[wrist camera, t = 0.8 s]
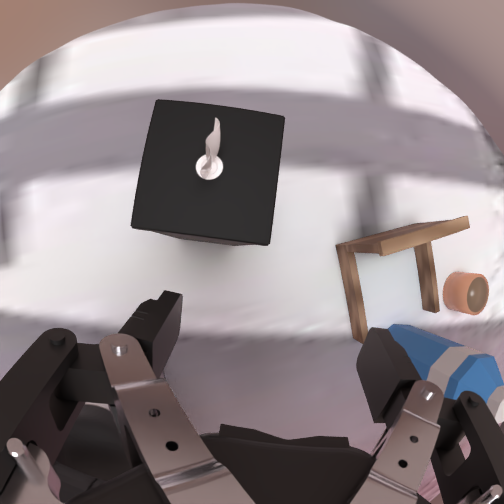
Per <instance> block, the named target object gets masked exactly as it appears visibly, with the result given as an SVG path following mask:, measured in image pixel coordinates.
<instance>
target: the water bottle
mask: <svg viewBox="0 0 504 504" xmlns="http://www.w3.org/2000/svg"><path fill="white" fill-rule="evenodd" d="M388 330H389V331H390V333H391V335H392V337H393V338H394V340H395V341H397V342H398V343H399V344H400V345H401V346H402V347H403V348H404V349H405V351H406V352H407V354H408V357H410V359H411V361H412V363H413V364H414V366H415V368H416V370H417V371H418V373H419V375H420V377H421V379H422V380H426V381H430V382H432V383H434V384H436V385H437V386H438V387H439V388H440V389H441V390H442V392H443V394H444V397H445V398H450V399H454V400H457V398H458V397H459V395H460V394H461V392H463V391H472V392H475V393H477V394H478V395H480V396H481V397H482V398H483V400H484V401H485V403H486V404H487V406H488V408H489V410H490V411H491V413H492V415H493V416H494V418H495V420H496V422H497V423H500V422H503V421H504V383H503V380H502V377H501V374H500V372H499V369H498V366H497V363H496V361H495V358H494V357H493V356H491V355H488V354H485V353H482V352H480V351H477V350H474V349H472V348H469V347H466V346H464V345H461V344H458V343H456V342H453V341H450V340H448V339H445V338H442V337H440V336H437V335H434V334H432V333H429V332H427V331H424V330H421V329H419V328H416V327H413V326H411V325H399V324H393V325H392V326H391V327H390V328H389V329H388Z"/></svg>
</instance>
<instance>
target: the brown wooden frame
mask: <svg viewBox="0 0 504 504" xmlns="http://www.w3.org/2000/svg"><path fill="white" fill-rule="evenodd" d="M468 228H470V225H469V220H468V216H463V217H460V218H456V219H453V220H445V221H435V222H426V223H416V224H411V225H408V226H404V227H401V228H397V229H393V230H389V231H386V232H382V233H378V234H375V235H371V236H367V237H364V238H360V239H356V240H352V241H349V242H345V243H341V244H337V245H336V249H337V254H338V259H339V263H340V268H341V273H342V278H343V283H344V288H345V294H346V299H347V304H348V310H349V316H350V321H351V327H352V334H353V338H354V339H356V340H357V341H359V342H361V343H362V344H363V343H364V341H365V339H366V336H367V334H368V329H367V322H366V315H365V309H364V303H363V297H362V292H361V286H360V281H359V275H358V270H357V265H356V260H355V255H354V252H357V253H379V255H380V256H386V255H389V254H392V253H395V252H399V251H402V250H405V249H408V248H411V247H414V249H415V255H416V261H417V267H418V274H419V281H420V289H421V297H422V306H423V310H426V311H430V312H433V313H437V312H439V311H440V309H439V298H438V289H437V280H436V272H435V265H434V258H433V252H432V246H431V241H433V240H436V239H439V238H442V237H445V236H448V235H451V234H454V233H457V232H459V231H462V230H465V229H468Z"/></svg>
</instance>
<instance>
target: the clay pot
mask: <svg viewBox="0 0 504 504" xmlns="http://www.w3.org/2000/svg"><path fill="white" fill-rule="evenodd" d="M488 295H489V286H488V282H487V279H486V278H485V277H484V276H483V275H482V274H474V273H464V272H454V273H452V274H450V275H449V277H448V278H447V280H446V281H445V284H444V288H443V301H444V303H445V305H446V307H447V308H448V309H451V310H455V311H458V312H462V313H466V314H470V315H477V314H479V313H480V312H481V311H482V310H483V309H484V307H485V305H486V303H487V300H488Z"/></svg>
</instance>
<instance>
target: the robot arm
mask: <svg viewBox="0 0 504 504" xmlns="http://www.w3.org/2000/svg"><path fill="white" fill-rule="evenodd" d="M182 301H183V296H182V294H179V293H175V292H170V291H166V290H165V291H164V292H163V293H162V294H161V296H160V297H159V299H158V300H153V299H149V300H147V301H145V302H143V303H141V304H140V305H139V307H138V308H137V309H136V312H134V313H133V314H132V316H131V317H130V318H129V319H128V321H127V322H126V323H125V325H124V326H123V327H122V329H121V330H120V331H119V332H118V334H111V335H108V336H106V337H104V338H103V339H102V340H101V341H100V343H99V344H83V343H77V339H76V336H75V334H74V333H73V332H71V331H70V330H67V329H63V328H54V329H50V330H47V331H45V332H44V333H43V334H41V336H40V337H39V338H38V339H37V340H36V341H35V342H34V343H33V344H32V345H31V346H30V347H29V349H28V350H27V351H26V352H25V353H24V354H23V355H22V356H21V358H20V359H19V360H18V361H17V362H16V363H15V364H14V365H13V367H12V368H11V369H10V370H9V371H8V372H7V374H6V375H5V376H4V377H3V378H2V380H1V381H0V504H431V503H430V502H428V501H427V500H426V499H424V498H423V497H422V496H421V495H419V494H418V493H417V491H418V488H419V486H420V484H421V481H422V479H423V476H424V474H425V471H426V469H427V466H428V463H429V461H430V459H431V462H432V465H433V469H434V472H435V475H436V478H437V482H438V485H439V488H440V492H441V495H442V499H443V503H444V504H504V434H503V433H502V431H501V429H500V427H499V425H498V423H497V422H496V420H495V418H494V416H493V415H492V413H491V411H490V410H489V408H488V406H487V404H486V403H485V401H484V400H483V398H482V397H481V396H480V395H478V394H477V393H475V392H472V391H463V392H461V394H460V395H459V397H458V398H457V400H454V399H450V398H445V397H444V394H443V392H442V390H441V389H440V388H439V387H438V386H437V385H436V384H434V383H432V382H430V381H426V380H422V379H421V377H420V375H419V373H418V371H417V370H416V368H415V366H414V364H413V363H412V361H411V359H410V357H408V354H407V352H406V351H405V349H404V348H403V347H402V346H401V345H400V344H399V343H398V342H397V341H395V340H394V338H393V337H392V335H391V333H390V331H389V330H388V329H382V328H374V327H372V328H371V329H370V330H369V332H368V334H367V336H366V339H365V341H364V343H363V346H362V348H361V351H360V353H359V355H358V358H357V364H356V367H357V372H358V375H359V378H360V381H361V384H362V387H363V390H364V393H365V396H366V399H367V402H368V405H369V408H370V411H371V414H372V418H373V421H374V423H386V426H387V427H386V429H385V430H384V432H383V433H382V435H381V437H380V439H379V440H378V442H377V444H376V445H375V447H374V448H373V450H372V452H371V453H370V454H368V453H367V452H365V451H362V450H360V449H357V448H354V447H351V446H349V441H348V437H329V436H315V437H308V438H300V439H292V440H286V439H282V438H279V437H275V436H272V435H269V434H266V433H263V432H260V431H257V430H254V429H248V428H242V427H236V426H230V425H225V424H221V426H220V431H219V433H206V434H201V435H198V433H197V432H196V430H195V428H194V427H193V425H192V424H191V422H190V421H189V419H188V417H187V416H186V414H185V412H184V411H183V409H182V407H181V406H180V404H179V402H178V401H177V399H176V397H175V396H174V394H173V392H172V390H171V389H170V387H169V385H168V383H167V382H166V380H165V377H164V373H163V369H164V367H165V365H166V363H167V361H168V359H169V356H170V354H171V352H172V350H173V348H174V346H175V344H176V341H177V339H178V336H179V331H180V323H181V312H182ZM465 435H466V437H467V439H468V441H469V443H470V446H471V452H470V455H469V457H468V458H467V459H466V460H465V458H464V455H463V453H462V450H461V448H460V446H459V442H460V441H461V440H462V438H463V437H464V436H465Z"/></svg>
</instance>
